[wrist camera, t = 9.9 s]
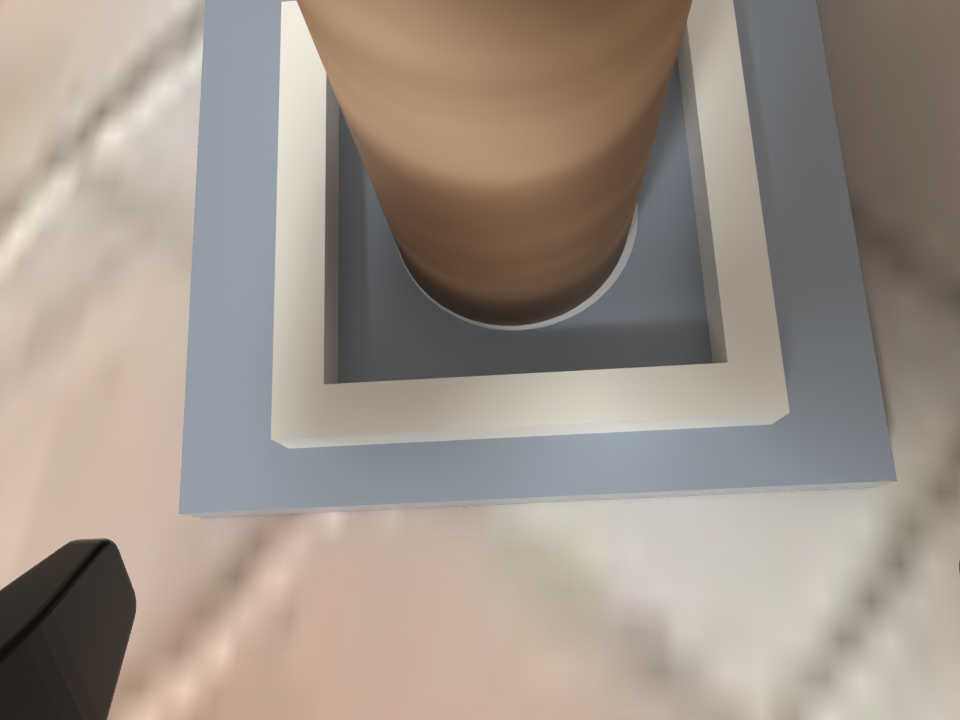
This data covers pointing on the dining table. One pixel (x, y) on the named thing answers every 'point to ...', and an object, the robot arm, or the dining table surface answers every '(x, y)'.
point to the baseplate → (535, 347)
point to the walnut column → (503, 136)
